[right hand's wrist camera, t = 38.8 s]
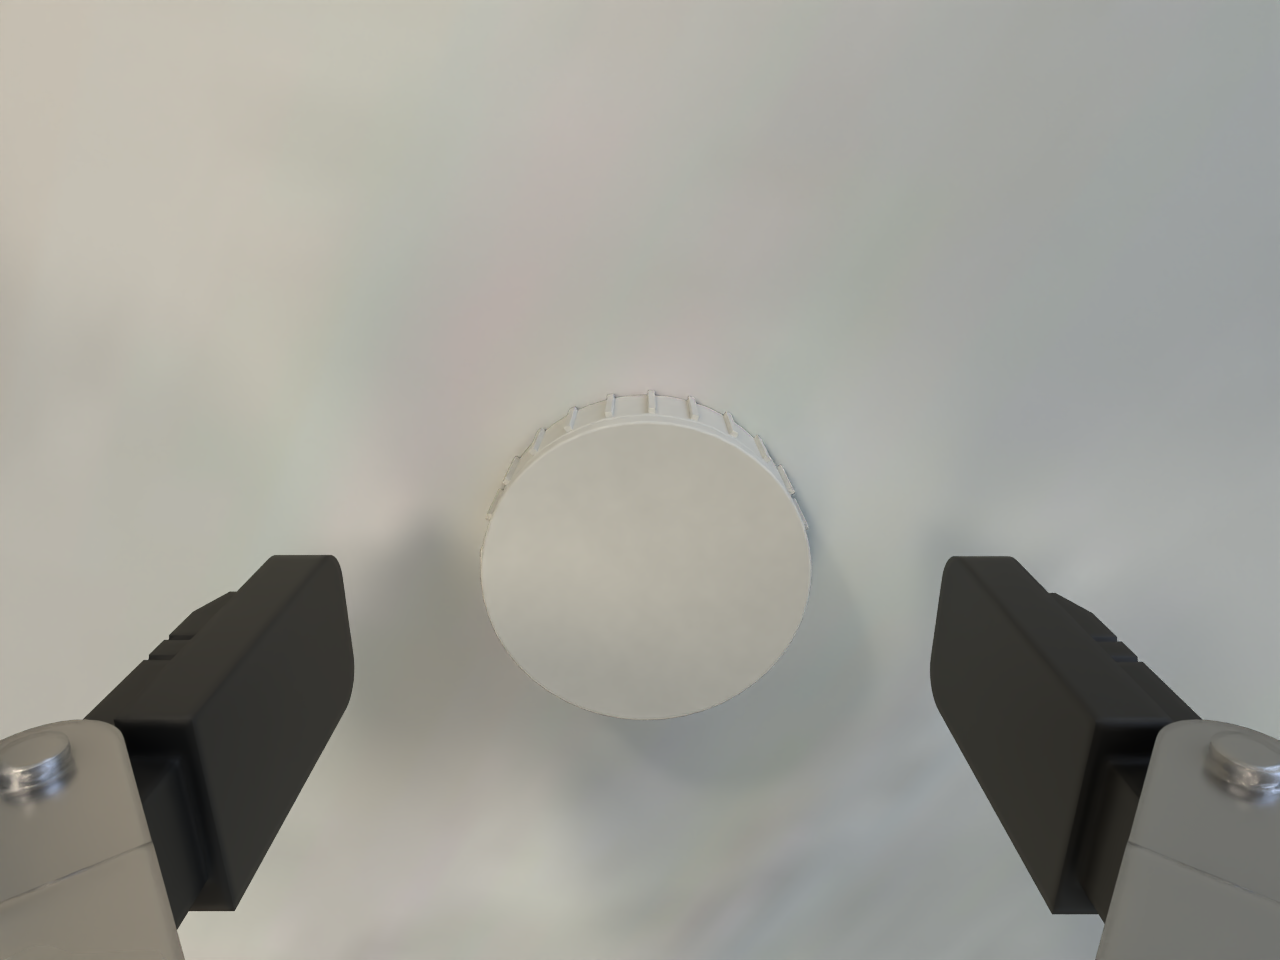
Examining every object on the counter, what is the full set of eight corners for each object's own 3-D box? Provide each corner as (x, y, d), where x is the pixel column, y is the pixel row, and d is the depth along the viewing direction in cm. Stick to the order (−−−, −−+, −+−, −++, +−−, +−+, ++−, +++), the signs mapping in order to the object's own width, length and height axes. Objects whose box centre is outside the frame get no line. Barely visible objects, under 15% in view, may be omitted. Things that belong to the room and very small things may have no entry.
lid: (587, 328, 13) (580, 347, 11) (859, 488, 14) (886, 525, 12) (441, 585, 14) (417, 633, 13) (694, 714, 15) (700, 773, 14)
